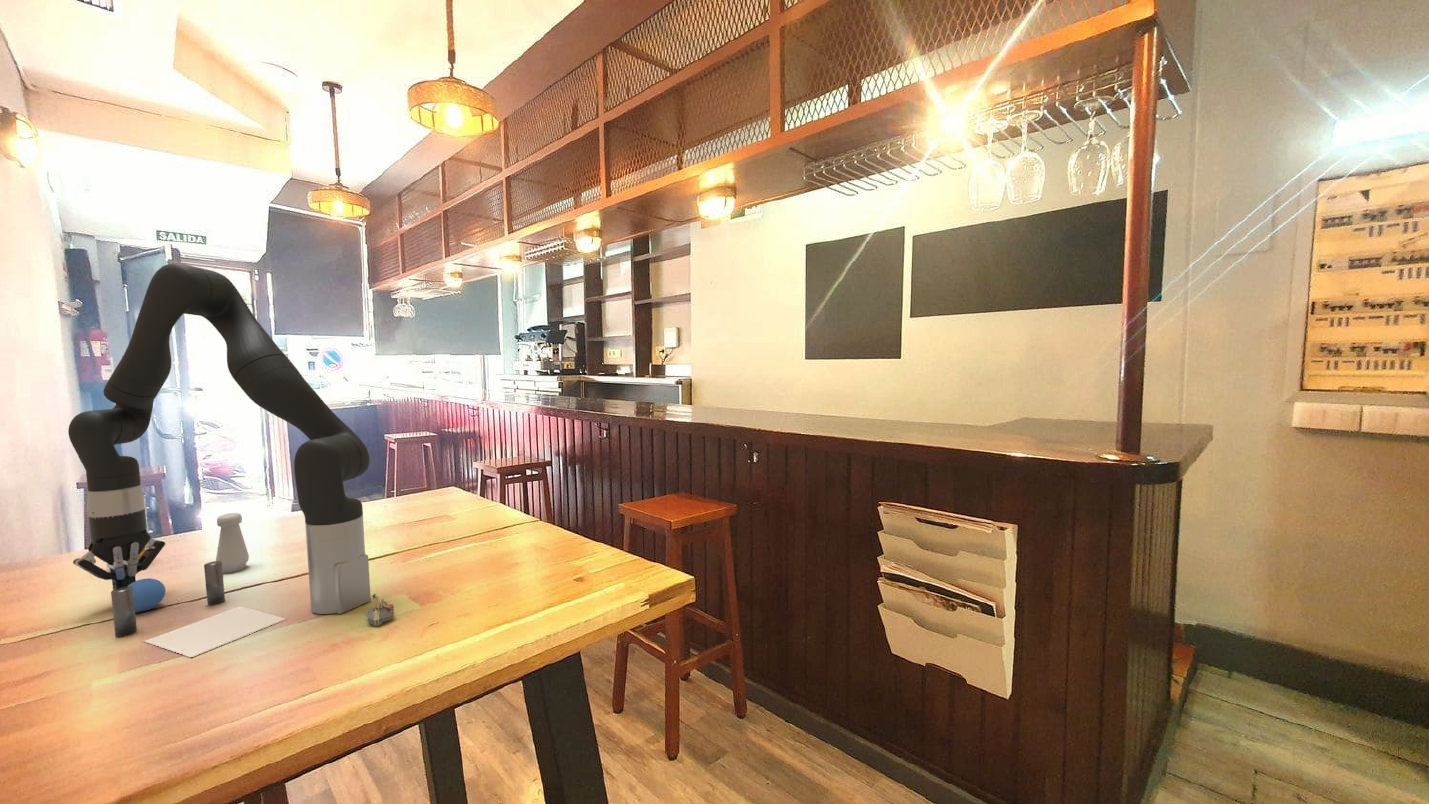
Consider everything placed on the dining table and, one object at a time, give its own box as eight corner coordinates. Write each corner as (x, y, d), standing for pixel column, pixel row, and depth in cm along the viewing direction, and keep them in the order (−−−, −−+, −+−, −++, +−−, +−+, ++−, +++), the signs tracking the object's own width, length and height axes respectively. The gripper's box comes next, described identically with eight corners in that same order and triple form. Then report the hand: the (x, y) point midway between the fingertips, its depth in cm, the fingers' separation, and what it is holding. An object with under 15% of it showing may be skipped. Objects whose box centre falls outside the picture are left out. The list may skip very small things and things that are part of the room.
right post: (228, 600, 109) (224, 561, 109) (212, 606, 107) (208, 566, 106) (220, 598, 110) (217, 560, 110) (204, 604, 108) (201, 564, 107)
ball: (156, 569, 109) (157, 597, 110) (114, 581, 103) (115, 610, 104) (171, 579, 106) (172, 607, 107) (128, 591, 101) (129, 621, 102)
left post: (140, 631, 97) (135, 587, 97) (119, 638, 95) (115, 593, 94) (132, 628, 98) (128, 585, 98) (112, 635, 96) (107, 591, 95)
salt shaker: (219, 576, 121) (214, 519, 120) (213, 570, 125) (208, 515, 124) (253, 568, 126) (248, 513, 125) (246, 563, 130) (241, 509, 128)
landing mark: (286, 619, 101) (285, 618, 101) (191, 658, 88) (190, 657, 88) (240, 607, 106) (240, 606, 106) (144, 642, 93) (144, 641, 93)
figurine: (370, 615, 102) (368, 586, 101) (396, 612, 104) (395, 583, 103) (363, 632, 98) (361, 602, 96) (391, 629, 99) (390, 599, 98)
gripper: (77, 521, 100) (87, 613, 101) (171, 503, 112) (178, 585, 113) (58, 517, 103) (67, 606, 104) (151, 500, 115) (158, 580, 116)
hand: (125, 595), depth 109 cm, fingers closed
